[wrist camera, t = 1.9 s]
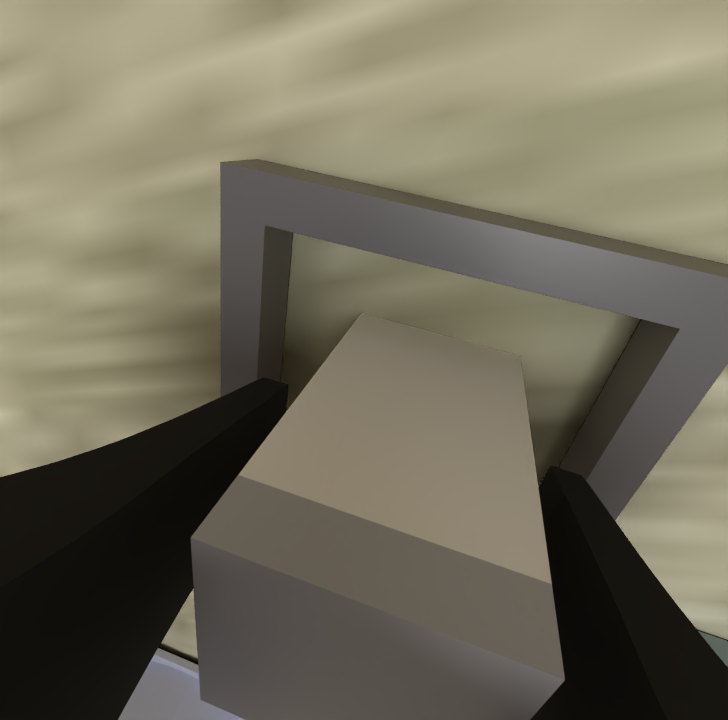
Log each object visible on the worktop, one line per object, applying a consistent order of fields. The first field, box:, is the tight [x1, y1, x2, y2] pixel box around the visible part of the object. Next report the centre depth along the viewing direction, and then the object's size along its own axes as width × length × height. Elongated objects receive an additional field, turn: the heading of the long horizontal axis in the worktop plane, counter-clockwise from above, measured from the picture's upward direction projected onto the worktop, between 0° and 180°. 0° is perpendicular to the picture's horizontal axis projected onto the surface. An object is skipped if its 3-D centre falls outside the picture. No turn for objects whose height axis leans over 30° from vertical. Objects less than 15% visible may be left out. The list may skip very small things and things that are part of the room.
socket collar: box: [220, 159, 728, 520], centre depth 11 cm, size 10×10×2 cm
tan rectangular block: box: [191, 313, 565, 720], centre depth 8 cm, size 4×4×7 cm
